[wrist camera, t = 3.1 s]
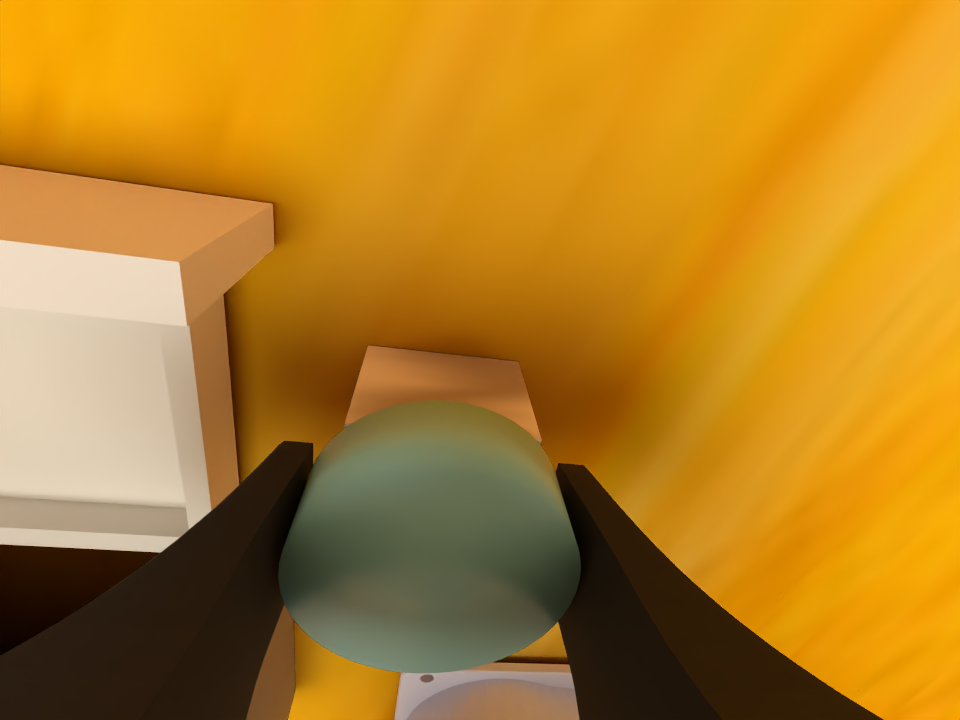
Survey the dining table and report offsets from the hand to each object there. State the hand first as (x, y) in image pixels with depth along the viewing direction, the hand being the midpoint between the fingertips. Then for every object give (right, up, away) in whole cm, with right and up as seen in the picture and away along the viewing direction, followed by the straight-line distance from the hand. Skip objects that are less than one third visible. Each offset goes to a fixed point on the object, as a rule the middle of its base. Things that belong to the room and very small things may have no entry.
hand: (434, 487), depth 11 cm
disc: (0, 0, -1) cm, 1 cm away
